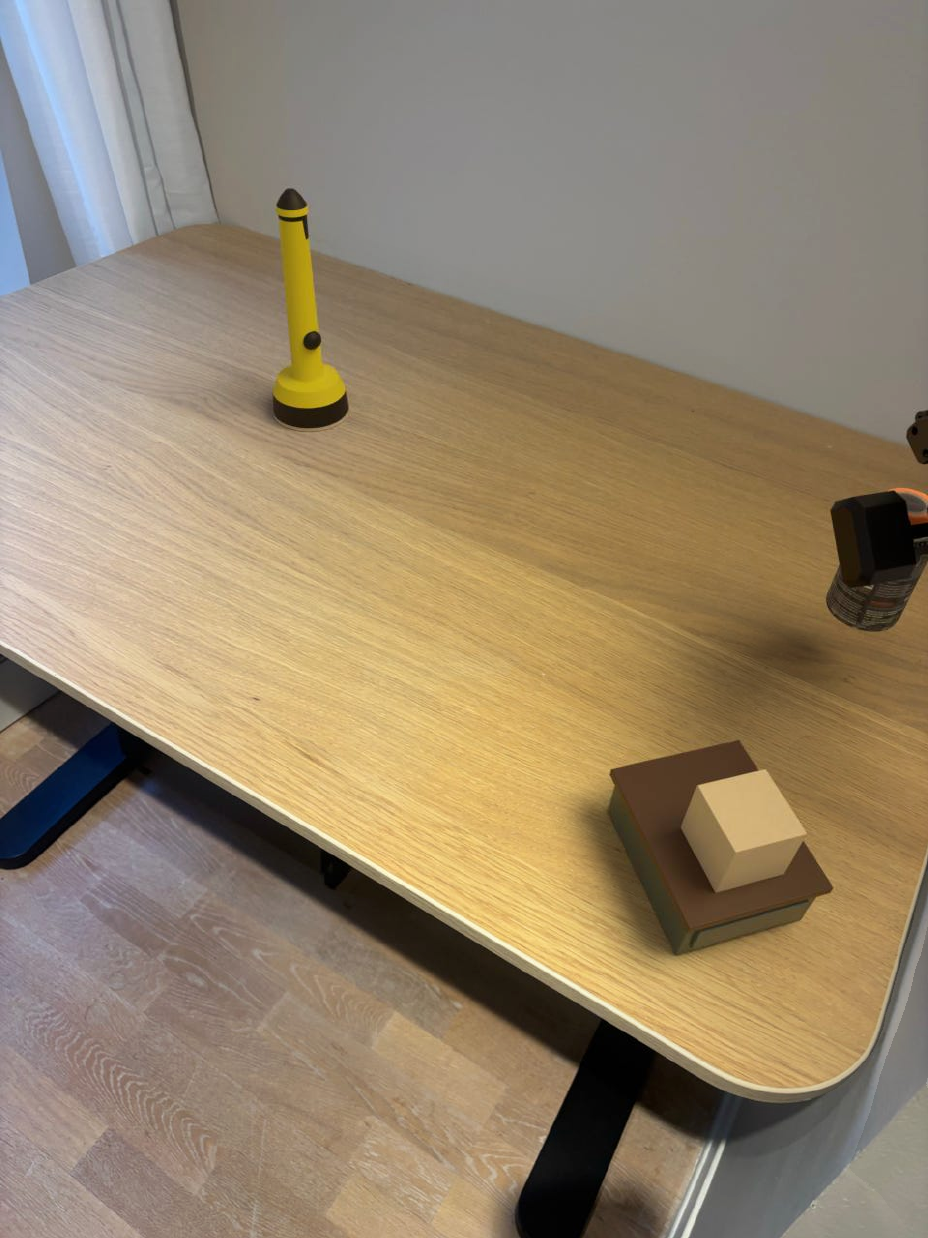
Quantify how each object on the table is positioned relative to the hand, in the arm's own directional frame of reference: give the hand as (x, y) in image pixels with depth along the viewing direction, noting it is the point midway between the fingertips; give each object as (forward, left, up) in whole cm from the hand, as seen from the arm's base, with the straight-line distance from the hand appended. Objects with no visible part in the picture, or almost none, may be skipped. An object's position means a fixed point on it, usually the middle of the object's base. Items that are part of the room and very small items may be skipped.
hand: (878, 539), depth 70 cm
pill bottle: (-1, +1, -7) cm, 7 cm away
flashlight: (+58, -25, -13) cm, 64 cm away
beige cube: (+10, +27, -7) cm, 30 cm away
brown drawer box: (+11, +25, -12) cm, 30 cm away
